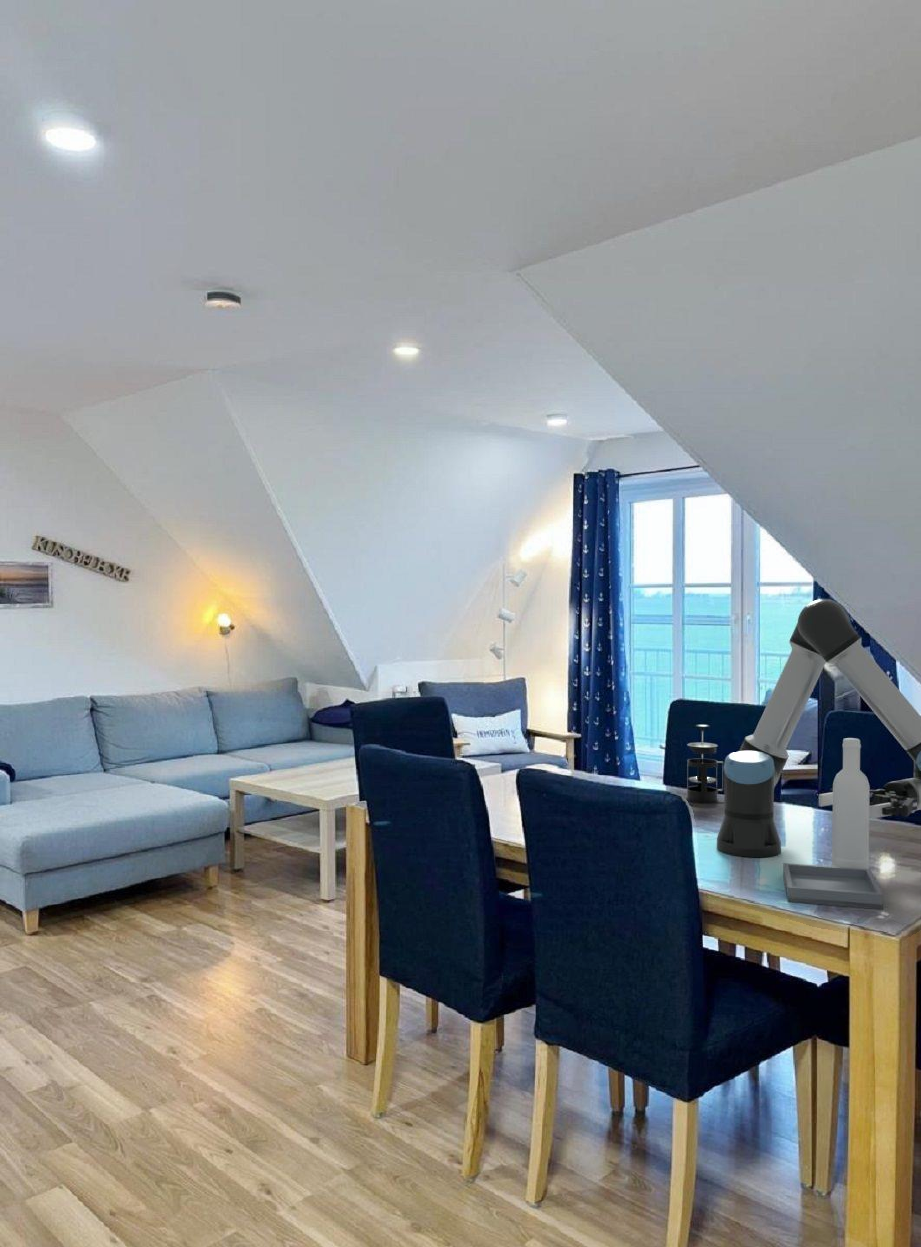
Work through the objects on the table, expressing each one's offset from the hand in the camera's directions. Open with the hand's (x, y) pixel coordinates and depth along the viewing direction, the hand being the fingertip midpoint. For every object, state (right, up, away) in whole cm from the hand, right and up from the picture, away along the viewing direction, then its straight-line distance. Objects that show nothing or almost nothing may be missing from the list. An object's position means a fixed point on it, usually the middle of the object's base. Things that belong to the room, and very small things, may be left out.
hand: (844, 806), depth 215 cm
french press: (-13, -13, +75) cm, 77 cm away
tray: (-9, -15, -14) cm, 22 cm away
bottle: (+2, -15, +2) cm, 15 cm away
